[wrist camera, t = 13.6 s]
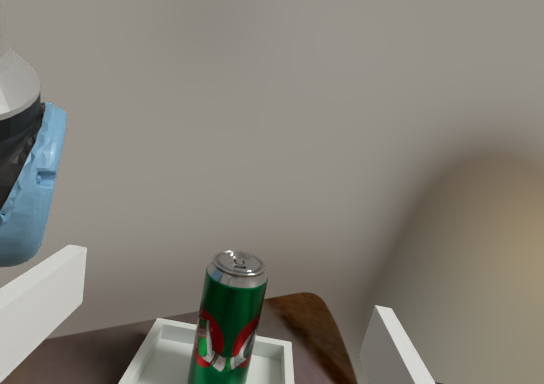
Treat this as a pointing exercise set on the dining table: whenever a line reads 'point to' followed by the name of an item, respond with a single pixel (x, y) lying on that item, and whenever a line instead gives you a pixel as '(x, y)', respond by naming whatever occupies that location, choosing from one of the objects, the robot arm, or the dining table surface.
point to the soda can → (228, 318)
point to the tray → (178, 350)
